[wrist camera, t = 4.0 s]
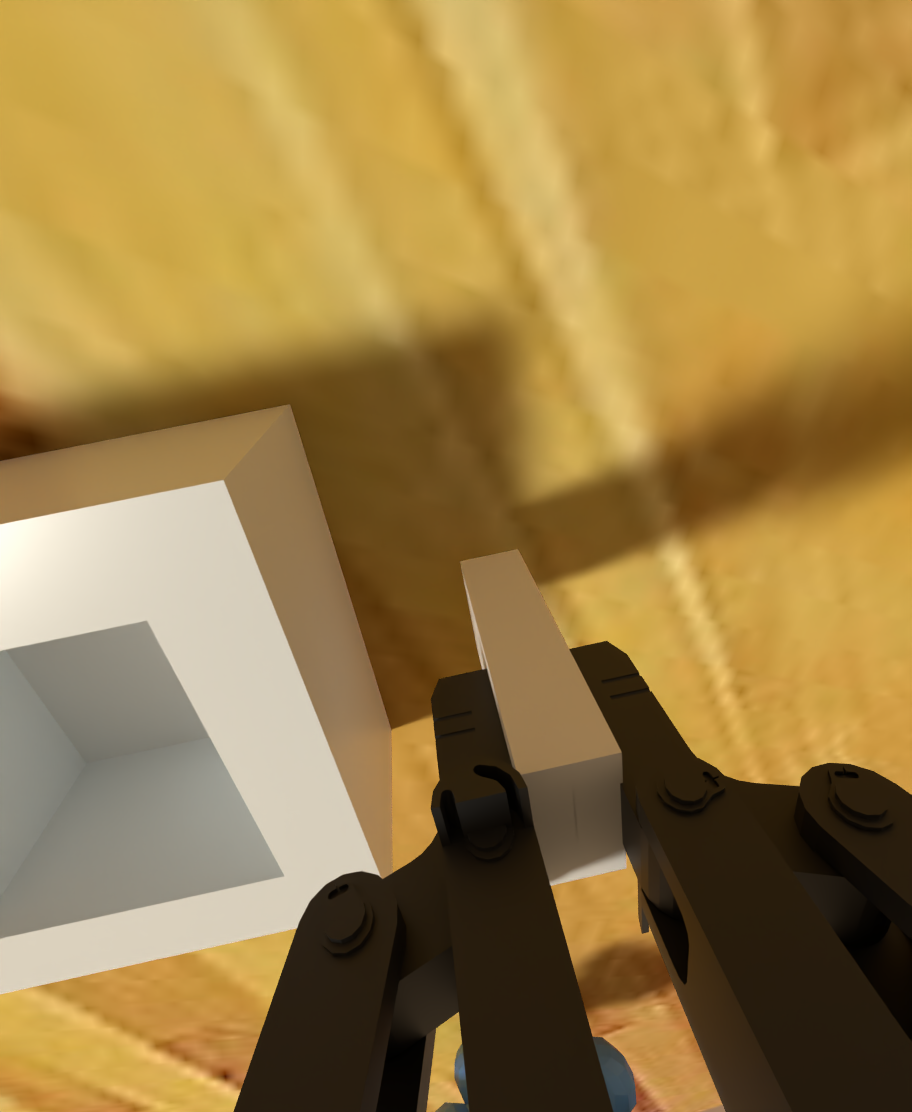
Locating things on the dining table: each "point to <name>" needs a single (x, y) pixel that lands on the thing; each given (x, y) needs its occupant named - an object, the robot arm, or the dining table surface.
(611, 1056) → the grapes
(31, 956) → the white square open box
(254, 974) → the dining table surface
